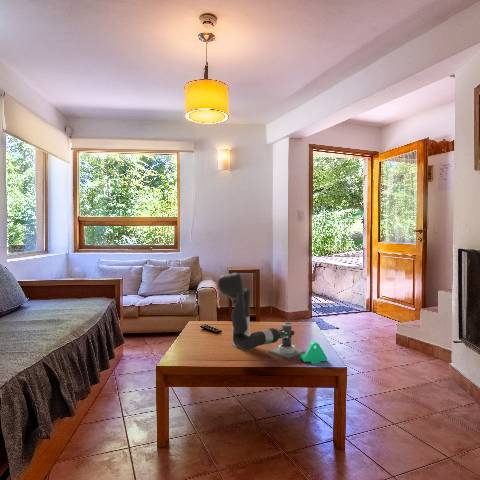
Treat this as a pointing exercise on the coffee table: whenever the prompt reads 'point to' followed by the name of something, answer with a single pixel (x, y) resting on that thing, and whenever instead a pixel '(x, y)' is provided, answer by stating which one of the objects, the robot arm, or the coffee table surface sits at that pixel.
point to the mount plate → (297, 352)
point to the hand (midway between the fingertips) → (290, 331)
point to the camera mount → (314, 354)
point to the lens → (286, 327)
